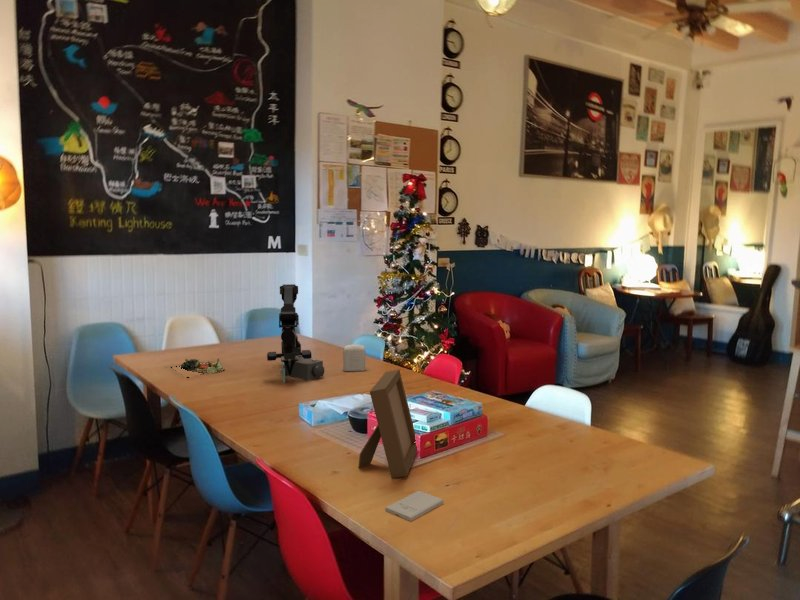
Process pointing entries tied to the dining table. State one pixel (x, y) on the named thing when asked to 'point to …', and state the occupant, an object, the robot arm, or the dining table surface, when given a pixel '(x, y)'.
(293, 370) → the large grey box
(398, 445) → the photo frame
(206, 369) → the plated dish
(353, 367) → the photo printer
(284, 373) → the grey-green bar
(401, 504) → the external hard drive
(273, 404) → the dining table surface
